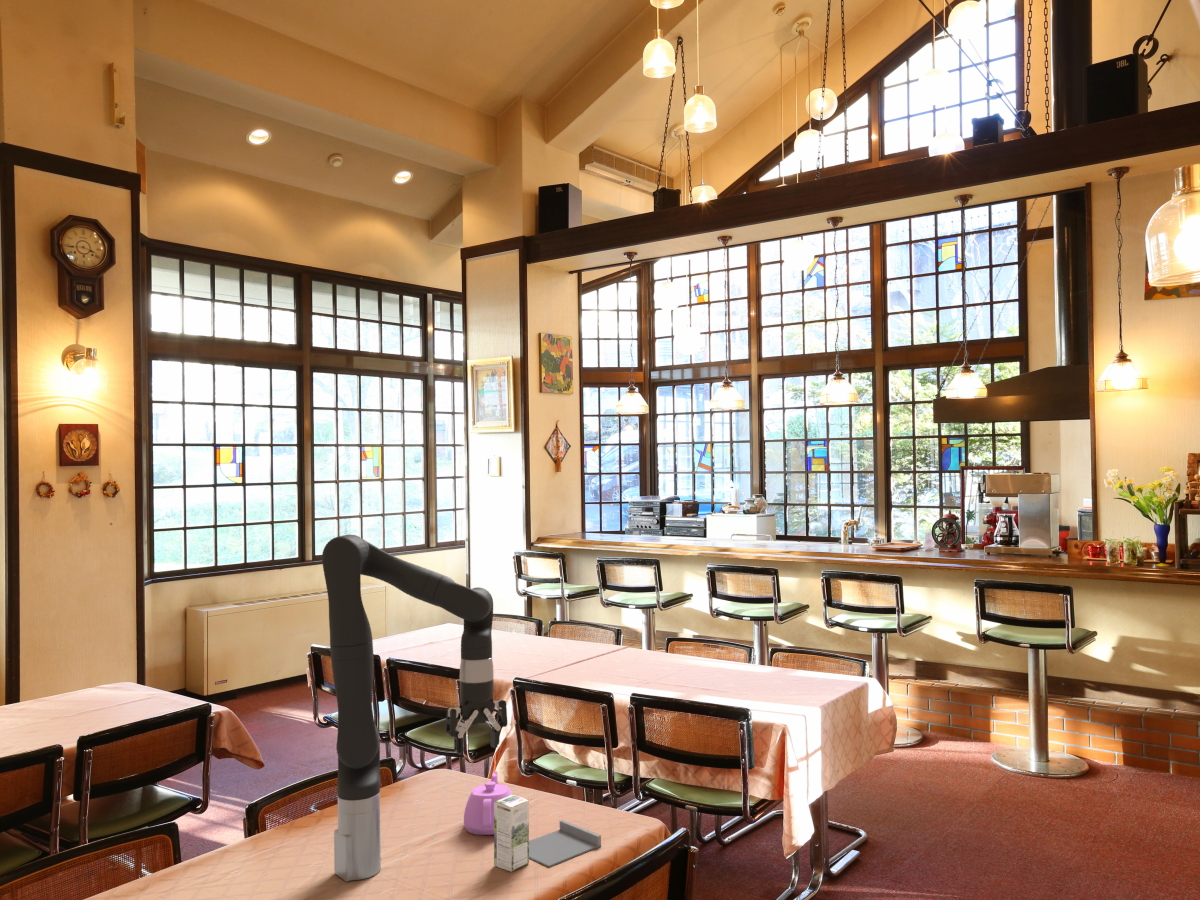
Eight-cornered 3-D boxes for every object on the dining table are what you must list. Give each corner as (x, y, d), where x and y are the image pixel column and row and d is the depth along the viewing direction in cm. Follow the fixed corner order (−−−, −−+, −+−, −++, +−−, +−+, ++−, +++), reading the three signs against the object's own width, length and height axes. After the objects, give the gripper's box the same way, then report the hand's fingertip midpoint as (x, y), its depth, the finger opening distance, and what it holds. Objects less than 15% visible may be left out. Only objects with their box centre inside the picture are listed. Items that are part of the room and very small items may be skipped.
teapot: (520, 811, 227) (520, 768, 228) (513, 842, 207) (513, 795, 208) (470, 812, 227) (469, 769, 228) (458, 843, 207) (457, 796, 208)
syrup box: (511, 857, 198) (510, 793, 199) (530, 864, 195) (529, 798, 195) (493, 866, 194) (492, 800, 195) (512, 873, 190) (511, 806, 191)
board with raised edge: (548, 867, 193) (548, 856, 193) (511, 849, 203) (510, 838, 203) (601, 846, 203) (600, 835, 204) (562, 830, 214) (562, 819, 214)
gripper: (455, 685, 187) (455, 760, 186) (512, 676, 195) (513, 748, 194) (440, 679, 193) (440, 752, 192) (496, 670, 201) (497, 741, 201)
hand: (477, 750), depth 193 cm, fingers open, 8 cm apart
